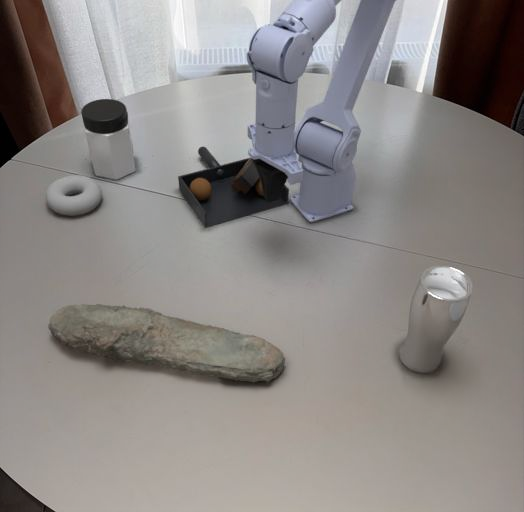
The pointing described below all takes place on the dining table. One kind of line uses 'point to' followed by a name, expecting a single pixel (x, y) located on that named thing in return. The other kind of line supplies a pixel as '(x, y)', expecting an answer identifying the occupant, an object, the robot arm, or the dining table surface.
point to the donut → (73, 204)
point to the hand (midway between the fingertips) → (272, 198)
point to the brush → (246, 177)
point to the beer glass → (434, 316)
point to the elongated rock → (166, 342)
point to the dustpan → (224, 193)
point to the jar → (109, 138)
